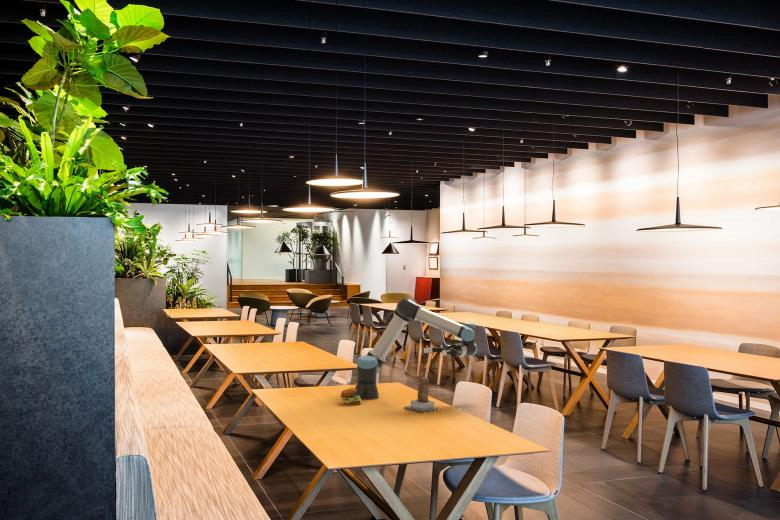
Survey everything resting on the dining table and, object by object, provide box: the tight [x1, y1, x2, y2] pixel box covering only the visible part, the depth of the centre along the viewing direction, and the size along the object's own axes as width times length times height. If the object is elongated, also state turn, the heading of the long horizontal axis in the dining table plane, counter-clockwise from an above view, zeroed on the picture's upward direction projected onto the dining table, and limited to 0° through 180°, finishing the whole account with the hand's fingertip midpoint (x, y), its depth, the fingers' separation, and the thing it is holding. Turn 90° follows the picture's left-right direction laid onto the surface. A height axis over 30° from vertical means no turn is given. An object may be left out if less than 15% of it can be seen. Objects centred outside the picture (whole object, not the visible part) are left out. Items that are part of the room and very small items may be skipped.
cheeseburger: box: [340, 387, 362, 406], centre depth 368 cm, size 10×11×10 cm
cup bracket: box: [403, 399, 441, 414], centre depth 362 cm, size 14×14×4 cm
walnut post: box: [416, 376, 430, 403], centre depth 362 cm, size 4×4×16 cm
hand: (433, 351), depth 375 cm, fingers open, 13 cm apart
